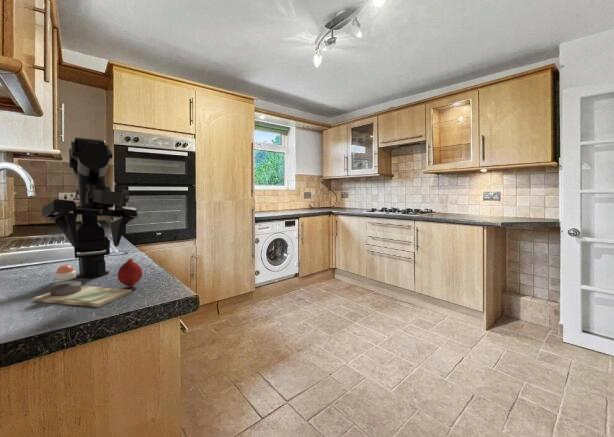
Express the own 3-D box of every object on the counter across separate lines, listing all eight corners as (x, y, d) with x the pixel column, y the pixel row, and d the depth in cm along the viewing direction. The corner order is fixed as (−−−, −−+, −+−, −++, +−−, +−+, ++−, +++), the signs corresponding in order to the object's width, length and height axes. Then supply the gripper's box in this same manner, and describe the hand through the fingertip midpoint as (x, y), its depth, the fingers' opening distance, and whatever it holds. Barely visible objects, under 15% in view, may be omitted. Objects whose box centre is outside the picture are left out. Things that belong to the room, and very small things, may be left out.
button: (50, 280, 72) (49, 266, 72) (67, 275, 76) (66, 262, 76) (64, 281, 71) (63, 267, 71) (80, 276, 75) (79, 263, 75)
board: (33, 301, 70) (32, 289, 69) (74, 288, 79) (73, 278, 79) (97, 306, 66) (97, 294, 66) (132, 292, 76) (131, 282, 76)
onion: (131, 291, 77) (130, 261, 77) (112, 289, 78) (111, 260, 78) (147, 284, 83) (146, 256, 82) (130, 283, 84) (128, 255, 83)
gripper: (65, 165, 62) (69, 237, 59) (148, 182, 78) (154, 239, 76) (39, 182, 66) (42, 249, 64) (122, 194, 83) (127, 248, 80)
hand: (97, 246), depth 71 cm, fingers open, 9 cm apart
